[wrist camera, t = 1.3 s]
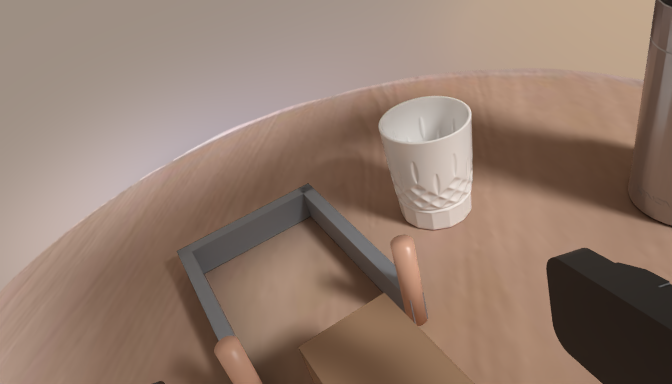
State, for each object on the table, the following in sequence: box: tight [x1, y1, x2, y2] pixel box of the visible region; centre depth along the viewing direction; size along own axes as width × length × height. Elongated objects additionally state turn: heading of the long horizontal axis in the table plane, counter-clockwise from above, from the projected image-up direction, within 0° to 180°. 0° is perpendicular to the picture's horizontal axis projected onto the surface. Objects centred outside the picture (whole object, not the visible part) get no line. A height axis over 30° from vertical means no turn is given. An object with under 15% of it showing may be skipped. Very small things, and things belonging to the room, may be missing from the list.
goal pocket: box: [177, 184, 428, 384], centre depth 42 cm, size 15×19×8 cm
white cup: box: [378, 96, 473, 230], centre depth 46 cm, size 8×8×10 cm
